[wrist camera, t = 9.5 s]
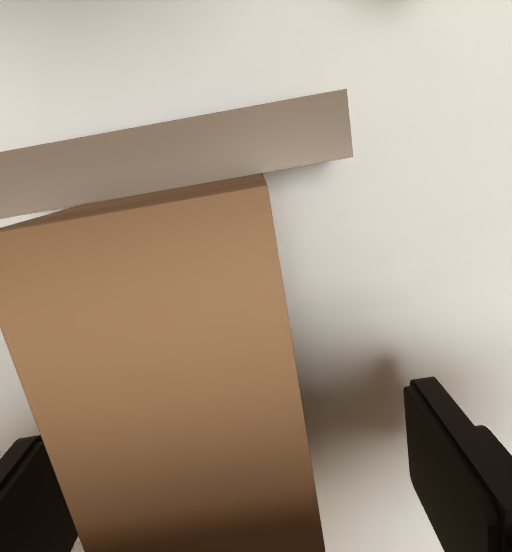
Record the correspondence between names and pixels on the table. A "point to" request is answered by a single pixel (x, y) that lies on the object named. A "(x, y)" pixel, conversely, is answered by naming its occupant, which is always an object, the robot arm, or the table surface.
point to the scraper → (166, 327)
